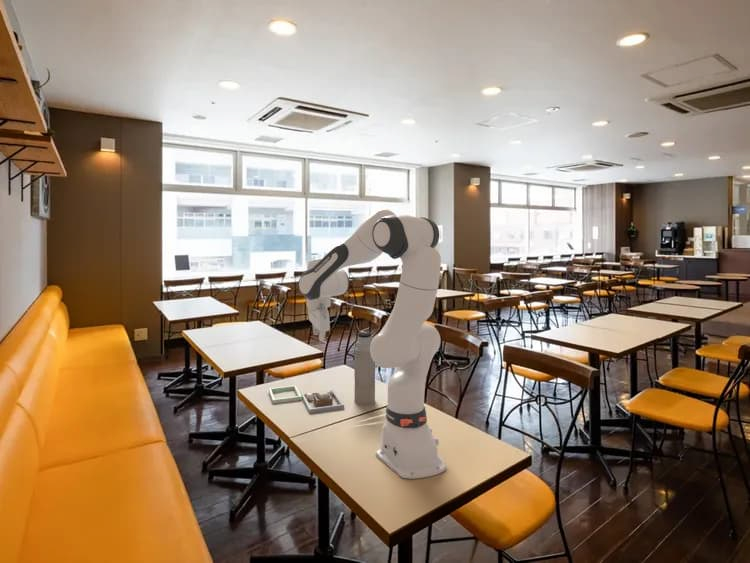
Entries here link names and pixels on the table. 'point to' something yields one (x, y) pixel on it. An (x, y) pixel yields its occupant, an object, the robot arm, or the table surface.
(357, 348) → the thermos bottle
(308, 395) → the pebble
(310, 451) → the table surface
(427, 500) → the table surface
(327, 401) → the scoop cup
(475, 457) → the table surface
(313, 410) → the slate tray
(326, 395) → the stone
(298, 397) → the green tray
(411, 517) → the table surface
